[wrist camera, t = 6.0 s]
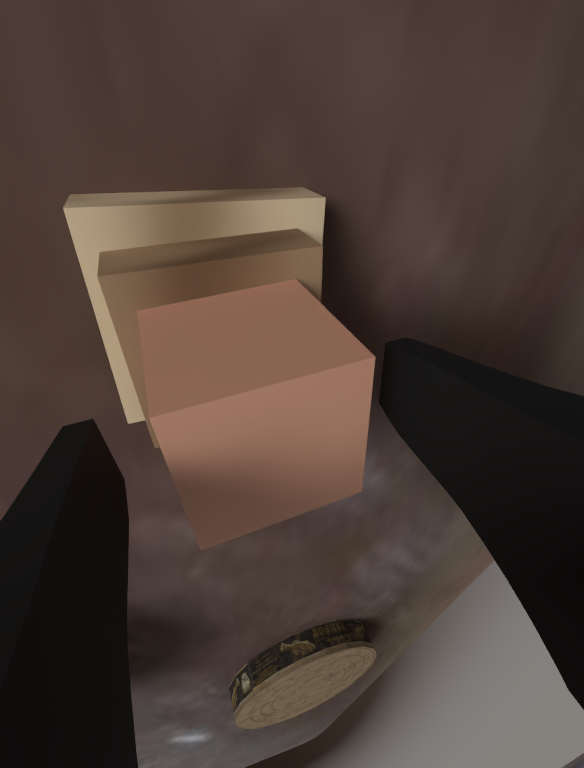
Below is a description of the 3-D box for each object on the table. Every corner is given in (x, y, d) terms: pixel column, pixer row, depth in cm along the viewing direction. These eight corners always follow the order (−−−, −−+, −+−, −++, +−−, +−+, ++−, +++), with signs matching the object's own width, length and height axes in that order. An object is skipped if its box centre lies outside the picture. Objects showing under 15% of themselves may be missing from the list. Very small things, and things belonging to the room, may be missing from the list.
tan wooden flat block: (297, 228, 12) (322, 245, 11) (298, 377, 16) (317, 406, 14) (99, 251, 11) (97, 276, 9) (150, 412, 14) (154, 448, 13)
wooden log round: (269, 701, 47) (277, 731, 45) (197, 687, 37) (203, 726, 34) (377, 633, 47) (391, 660, 45) (337, 600, 37) (351, 633, 34)
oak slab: (297, 184, 14) (325, 197, 12) (291, 357, 18) (311, 386, 16) (71, 191, 12) (63, 208, 10) (126, 386, 16) (128, 423, 14)
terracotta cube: (301, 396, 14) (362, 491, 10) (177, 431, 13) (200, 550, 9) (296, 278, 11) (375, 357, 8) (137, 310, 10) (149, 418, 7)
